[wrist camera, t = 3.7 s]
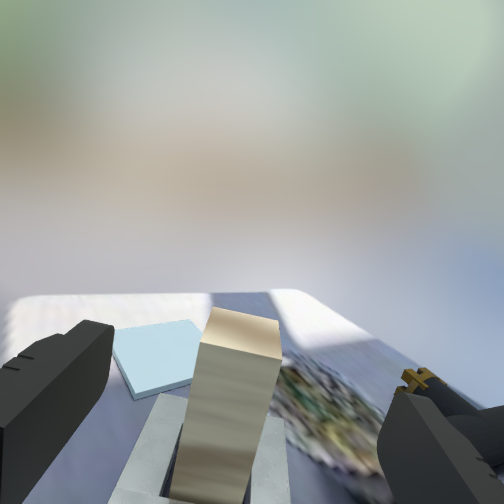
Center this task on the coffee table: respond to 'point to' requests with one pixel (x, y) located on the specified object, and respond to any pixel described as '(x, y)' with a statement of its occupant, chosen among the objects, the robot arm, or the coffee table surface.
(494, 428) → the pipe connector
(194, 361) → the pale blue plate
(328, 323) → the coffee table surface
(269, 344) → the maple peg
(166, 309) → the coffee table surface
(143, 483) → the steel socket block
